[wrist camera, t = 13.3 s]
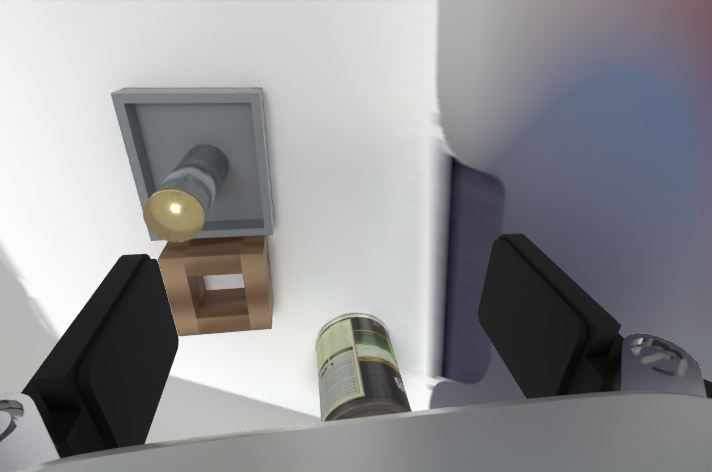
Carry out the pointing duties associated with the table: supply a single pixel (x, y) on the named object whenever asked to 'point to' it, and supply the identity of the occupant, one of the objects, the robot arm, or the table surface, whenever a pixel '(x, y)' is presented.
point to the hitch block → (218, 307)
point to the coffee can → (358, 370)
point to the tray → (194, 127)
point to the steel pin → (187, 195)
